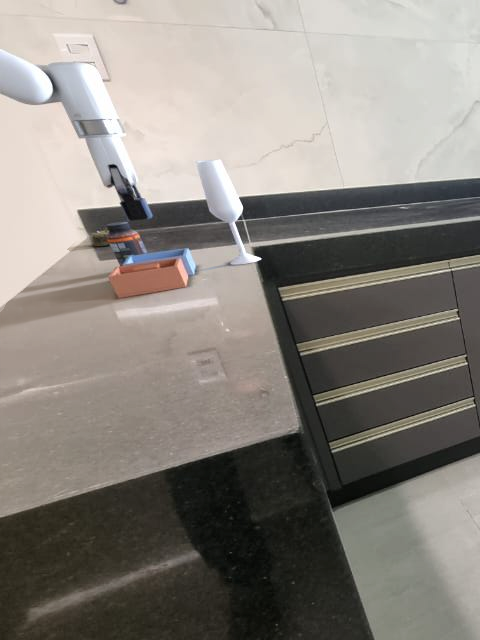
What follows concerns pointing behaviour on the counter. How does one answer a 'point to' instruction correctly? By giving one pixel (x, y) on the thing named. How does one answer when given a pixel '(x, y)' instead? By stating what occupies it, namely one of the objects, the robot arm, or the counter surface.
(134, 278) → the terracotta bin
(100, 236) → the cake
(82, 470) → the counter surface
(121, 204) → the slate-blue block
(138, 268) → the terracotta block
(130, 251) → the supplement bottle
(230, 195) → the champagne flute
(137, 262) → the blue bin
